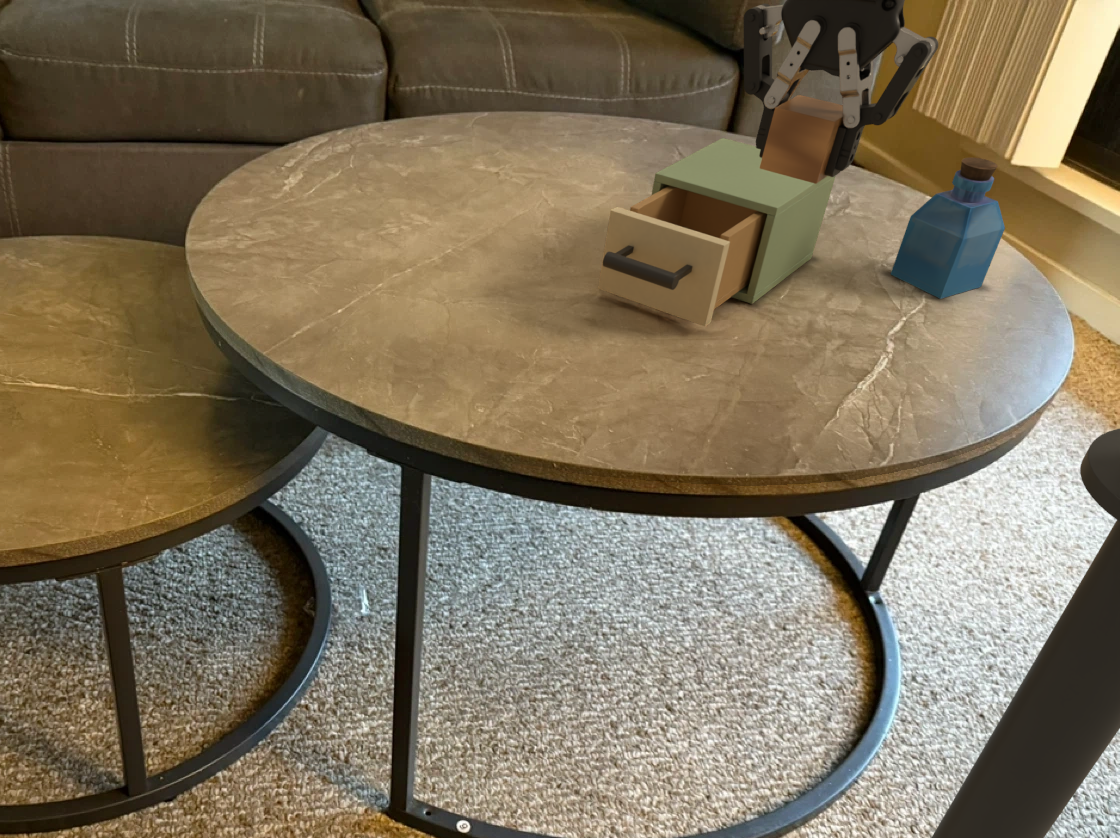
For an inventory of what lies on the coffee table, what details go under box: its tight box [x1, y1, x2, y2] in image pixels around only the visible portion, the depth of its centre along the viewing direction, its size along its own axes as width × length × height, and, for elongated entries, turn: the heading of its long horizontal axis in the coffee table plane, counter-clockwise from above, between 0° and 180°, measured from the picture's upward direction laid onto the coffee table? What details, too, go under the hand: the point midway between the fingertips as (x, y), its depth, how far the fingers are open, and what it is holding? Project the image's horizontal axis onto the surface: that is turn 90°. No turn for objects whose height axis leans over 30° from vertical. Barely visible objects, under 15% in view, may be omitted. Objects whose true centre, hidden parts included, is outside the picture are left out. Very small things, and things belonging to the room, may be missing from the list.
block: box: [760, 94, 843, 184], centre depth 81 cm, size 5×5×5 cm
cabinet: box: [651, 137, 836, 305], centre depth 107 cm, size 15×13×10 cm
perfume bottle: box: [890, 157, 1006, 300], centre depth 104 cm, size 6×6×12 cm
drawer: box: [597, 186, 768, 327], centre depth 100 cm, size 18×11×8 cm, turn 141°
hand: (800, 163), depth 82 cm, fingers closed on block, 4 cm apart
